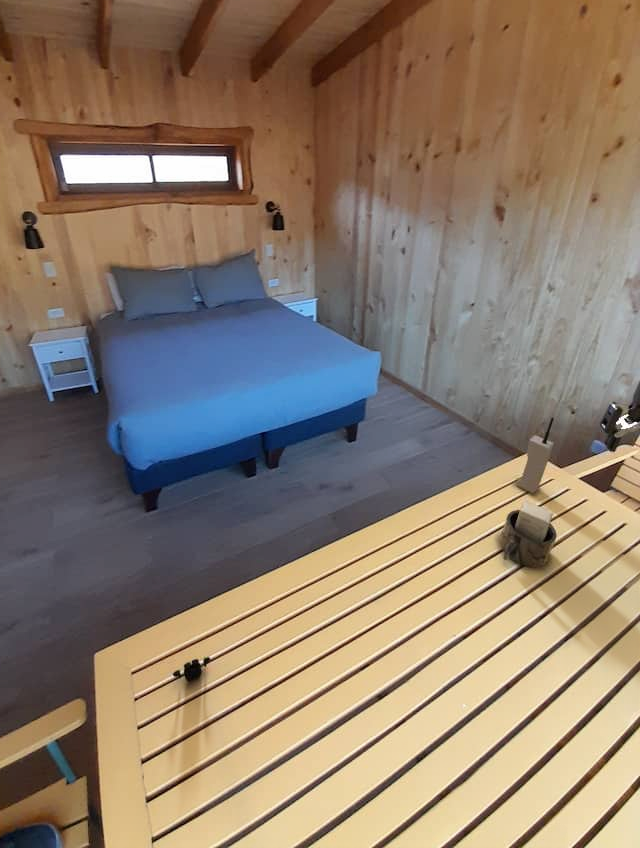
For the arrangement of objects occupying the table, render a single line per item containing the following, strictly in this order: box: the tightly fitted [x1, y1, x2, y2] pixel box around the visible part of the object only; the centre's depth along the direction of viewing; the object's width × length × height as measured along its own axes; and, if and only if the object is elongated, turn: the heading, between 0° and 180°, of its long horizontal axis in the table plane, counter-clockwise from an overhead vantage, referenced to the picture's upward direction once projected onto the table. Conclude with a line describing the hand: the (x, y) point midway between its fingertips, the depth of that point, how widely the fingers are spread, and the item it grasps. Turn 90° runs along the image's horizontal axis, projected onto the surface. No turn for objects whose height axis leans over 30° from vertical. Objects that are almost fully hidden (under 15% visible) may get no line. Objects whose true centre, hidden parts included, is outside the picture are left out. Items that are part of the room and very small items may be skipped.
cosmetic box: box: [515, 500, 554, 542], centre depth 97 cm, size 6×4×12 cm
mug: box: [499, 509, 557, 568], centre depth 98 cm, size 14×10×8 cm
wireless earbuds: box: [172, 656, 211, 682], centre depth 75 cm, size 7×2×5 cm, turn 113°
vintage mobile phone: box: [515, 417, 555, 494], centre depth 114 cm, size 4×5×25 cm
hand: (634, 452), depth 80 cm, fingers open, 8 cm apart
